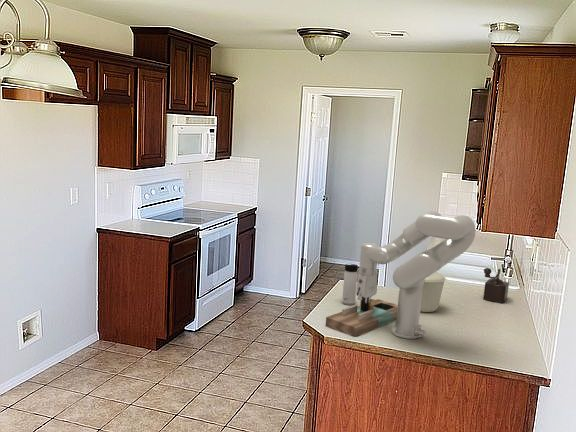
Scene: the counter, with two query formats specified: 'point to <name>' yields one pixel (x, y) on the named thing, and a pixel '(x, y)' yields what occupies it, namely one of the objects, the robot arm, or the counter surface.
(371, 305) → the block
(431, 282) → the canister
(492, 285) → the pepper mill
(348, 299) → the travel mug
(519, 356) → the counter surface
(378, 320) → the board
